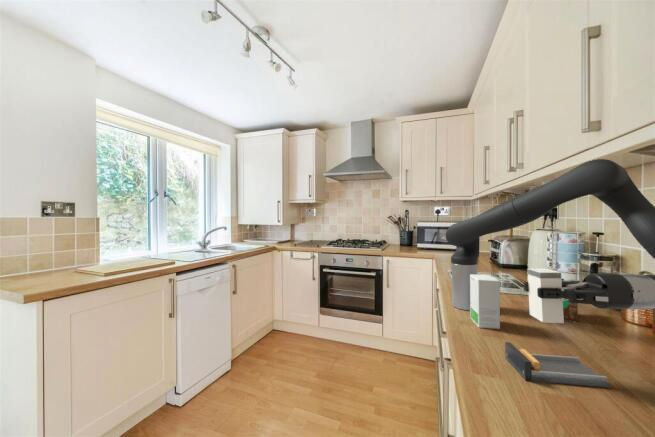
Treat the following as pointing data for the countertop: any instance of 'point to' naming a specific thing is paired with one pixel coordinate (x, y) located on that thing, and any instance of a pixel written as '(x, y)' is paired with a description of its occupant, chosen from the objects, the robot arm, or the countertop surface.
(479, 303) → the skincare box
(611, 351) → the countertop surface
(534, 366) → the orange rectangular bar
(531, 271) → the block
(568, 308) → the food container
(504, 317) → the countertop surface
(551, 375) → the dark grey open tray
